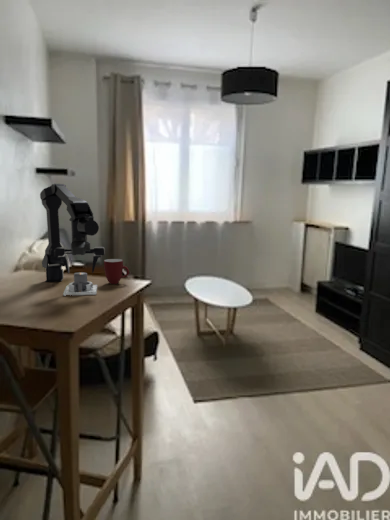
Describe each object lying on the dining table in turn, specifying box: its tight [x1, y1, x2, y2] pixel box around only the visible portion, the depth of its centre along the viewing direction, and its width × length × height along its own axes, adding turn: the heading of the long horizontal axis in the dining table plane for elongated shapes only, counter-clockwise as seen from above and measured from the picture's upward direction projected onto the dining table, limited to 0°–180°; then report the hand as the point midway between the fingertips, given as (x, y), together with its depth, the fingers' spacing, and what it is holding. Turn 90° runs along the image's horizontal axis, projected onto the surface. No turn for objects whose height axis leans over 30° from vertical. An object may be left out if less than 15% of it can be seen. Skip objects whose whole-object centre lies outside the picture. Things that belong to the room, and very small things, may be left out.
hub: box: [63, 280, 98, 297], centre depth 159 cm, size 12×12×3 cm
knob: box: [73, 271, 88, 291], centre depth 158 cm, size 6×5×6 cm
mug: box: [103, 258, 130, 285], centre depth 174 cm, size 11×8×10 cm
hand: (80, 273), depth 158 cm, fingers open, 9 cm apart
